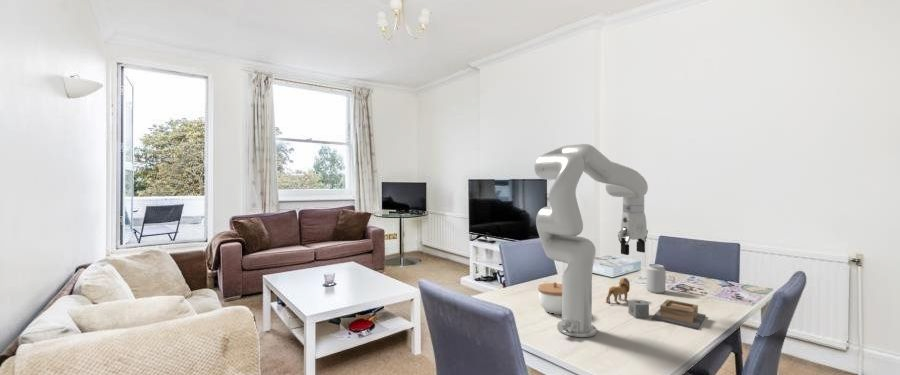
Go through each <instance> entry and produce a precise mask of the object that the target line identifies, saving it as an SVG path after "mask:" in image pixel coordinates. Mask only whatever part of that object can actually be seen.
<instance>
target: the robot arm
mask: <svg viewBox="0 0 900 375" xmlns="http://www.w3.org/2000/svg"><path fill="white" fill-rule="evenodd" d="M534 172H535V175H536V176H537V177H538V178H539V179H542V180H548V181H549V180H550V181H552V180H554V182H553V183H552V186H551V188H550V190H549V193H548V202H549V206H548V205H547V206H544V207H542V208H541V209H539V210H538V212H537V214H536V217H535V218H536V219H535V225H536V230H537V233H538V237H539V240H540V242H541V245H542V249H543V251H544V254H545V256H546V257H547V258H549V260H552V261H554V262H561V263H565V264H567V267H566V268H565V270H564V271H563V274H562V277H561V284H562V314H561V320H560V321H559V322H557V324H556V328H557V330H558V331H559V332H560V333H562V334H564V335H566V336H570V337H575V338H590V337H593V336H595V335H596V334H597V327H596V325H594V324H592V322H593V320H592V318H593V314H592V311H593V309H592V308H593V306H592V305H593V299H592V298H593V269H594V262H595V258H596V246H595V244H594V242H592V241H591V240H590V239H588V238H586V237H583V236H579V235H581V234H582V232H583V230H584V222H583V219H582V214H581V210H580V206H579V204H578V199H577V196H576V195H577V193H576V192H577V191H576V190H577V187H578V183H579V181H580V179H581V177H582V175H583V173H585V174H587V175H588V177H590V178H592V179H593V181H595V182H597V183H601V184H605V191H606V193H607V194H608V195H610V196H612V197H613V198H615V197H616V198H622V214H621V215H622V217H621V222H620V223H621V224H620V230H619V231H618V232H617V238H618V241H619V244H620V254H621V255H625V256H629V255H630V241H631V240H637V241H636V252H638V253H645V252H646V242H647V240H646V239H647V238H648V233H649V230H648V229H647V228H648V227H647V219H646V218H647V217H646V214H645V195H646V194H648V193H647V192H648V188H649V186H648V182H647V180H646V178H645V176H643V175H642V174H641V173H640V172H639V171H637V170H635V169H633V168H631V167H628V166H625V165H622V164H620V163H616V162H613V161H611V160H610V159H609V158H608V157H606V156H605V155H604V154H603V153H602V152H600V150H598V149H597V148H596V147H595V146H593V145H592V144H588V143H579V144H570V145H569V144H567V145H563V146H560V147H558V148H555V149H553V150H550V151H548V152H546V153H544V154H541V155H539V157H538V158H536V160H535V162H534Z"/></svg>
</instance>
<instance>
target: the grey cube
mask: <svg viewBox="0 0 900 375" xmlns="http://www.w3.org/2000/svg"><path fill="white" fill-rule="evenodd" d="M628 314H629V315H630V316H632V317H633V318H635V319H648V318H650V304H649V303H647V302H646V301H644V300H640V299H638V300H637V299H636V300H635V299H634V300H633V299H631V300H630V299H629V300H628Z"/></svg>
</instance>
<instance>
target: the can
mask: <svg viewBox="0 0 900 375" xmlns="http://www.w3.org/2000/svg"><path fill="white" fill-rule="evenodd" d="M645 288H646V290H647V291H648V292H650V293H653V294H664V293H665V292H666V268H665V266H664V265H663V264H658V263H656V264H655V263H649V264H648V265H647V267H646V287H645Z"/></svg>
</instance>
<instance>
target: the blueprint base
mask: <svg viewBox="0 0 900 375" xmlns="http://www.w3.org/2000/svg"><path fill="white" fill-rule="evenodd" d="M659 307H660V308H659V309H658V310H657V311H656V312H655V313H654V314H653V315H652V317H651V319H652V320H655V321H657V322H658V321H659V322H663V323H668V324H672V325H675V326H681V327H684V328H688V329H693V330H699V328H700V326H701V325H702V323H703V322H704V320H705V318H706V314H704V313H701V312H700V313H699V312H698V310H699V305H697V304H694V303H689V302H684V301H683V302H682V301H678V300H673V299H666V300H664V302H662V304H660V306H659Z"/></svg>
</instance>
